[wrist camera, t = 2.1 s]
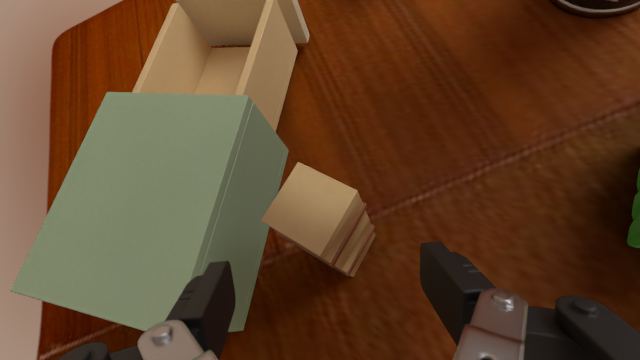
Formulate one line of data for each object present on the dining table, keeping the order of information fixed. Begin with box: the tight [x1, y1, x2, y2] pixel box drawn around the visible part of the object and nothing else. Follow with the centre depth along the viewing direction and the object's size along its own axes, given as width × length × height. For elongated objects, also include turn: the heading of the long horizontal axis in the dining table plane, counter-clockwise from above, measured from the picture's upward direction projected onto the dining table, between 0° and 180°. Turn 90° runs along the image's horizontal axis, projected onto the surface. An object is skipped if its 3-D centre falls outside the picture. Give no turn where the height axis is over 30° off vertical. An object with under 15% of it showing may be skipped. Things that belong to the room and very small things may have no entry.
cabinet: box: [11, 92, 289, 332], centre depth 29 cm, size 18×15×10 cm
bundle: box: [261, 162, 376, 277], centre depth 24 cm, size 4×4×12 cm
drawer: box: [132, 0, 310, 132], centre depth 35 cm, size 21×14×8 cm, turn 169°
